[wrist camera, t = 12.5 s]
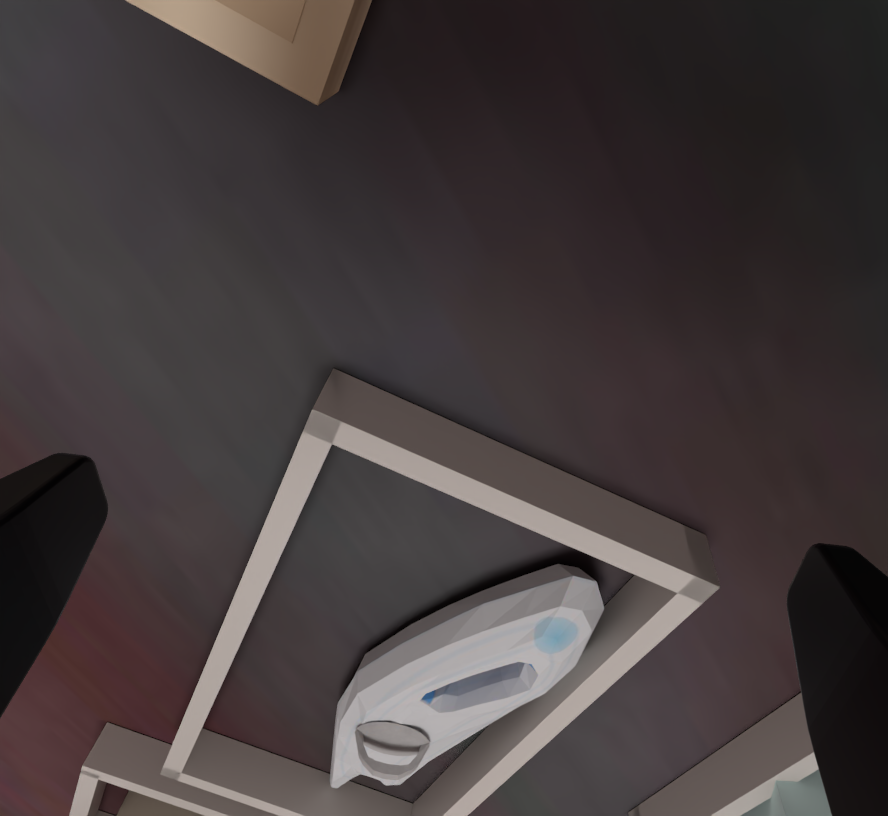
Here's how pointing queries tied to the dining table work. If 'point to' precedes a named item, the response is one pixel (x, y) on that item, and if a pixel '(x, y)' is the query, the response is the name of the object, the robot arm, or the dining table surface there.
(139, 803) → the travel mug
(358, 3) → the stand
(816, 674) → the robot arm
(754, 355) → the dining table surface
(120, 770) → the mug tray rim
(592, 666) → the casing tray rim
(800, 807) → the right angle wall
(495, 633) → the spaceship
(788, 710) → the coaster tray rim
